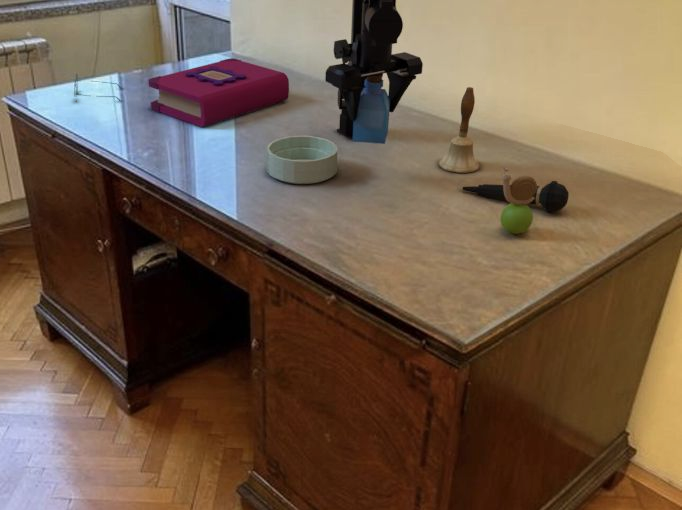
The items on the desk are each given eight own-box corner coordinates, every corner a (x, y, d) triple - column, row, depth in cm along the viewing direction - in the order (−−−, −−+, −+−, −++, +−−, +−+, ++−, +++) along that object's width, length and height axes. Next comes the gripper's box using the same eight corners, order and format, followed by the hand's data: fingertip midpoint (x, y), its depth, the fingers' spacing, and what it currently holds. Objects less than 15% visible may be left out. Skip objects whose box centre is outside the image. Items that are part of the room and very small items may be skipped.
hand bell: (454, 155, 165) (463, 79, 156) (487, 165, 161) (498, 88, 151) (430, 165, 161) (439, 87, 152) (463, 176, 156) (474, 97, 147)
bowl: (312, 154, 166) (312, 131, 163) (350, 176, 156) (351, 152, 153) (254, 167, 159) (253, 143, 156) (290, 191, 150) (290, 166, 147)
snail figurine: (489, 225, 138) (499, 161, 131) (524, 224, 138) (536, 160, 131) (497, 239, 133) (509, 173, 126) (534, 238, 134) (547, 172, 127)
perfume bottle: (384, 143, 147) (389, 80, 140) (352, 141, 148) (355, 78, 141) (387, 131, 152) (392, 69, 145) (356, 129, 153) (359, 67, 145)
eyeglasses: (121, 87, 203) (119, 68, 201) (120, 102, 193) (118, 82, 190) (77, 89, 202) (74, 70, 199) (74, 104, 192) (71, 84, 189)
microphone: (459, 208, 150) (564, 220, 141) (456, 185, 146) (563, 195, 137) (469, 191, 153) (572, 201, 144) (466, 167, 149) (572, 176, 139)
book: (289, 102, 194) (289, 71, 190) (204, 129, 178) (202, 96, 173) (232, 84, 206) (231, 55, 202) (148, 108, 189) (145, 77, 185)
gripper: (390, 14, 148) (384, 96, 157) (309, 27, 139) (308, 112, 149) (428, 26, 140) (420, 111, 149) (345, 40, 132) (341, 130, 141)
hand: (372, 116), depth 147 cm, fingers closed on perfume bottle, 9 cm apart
